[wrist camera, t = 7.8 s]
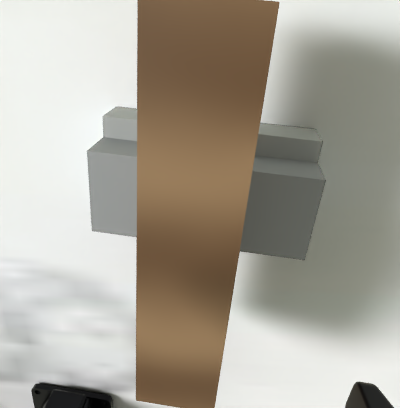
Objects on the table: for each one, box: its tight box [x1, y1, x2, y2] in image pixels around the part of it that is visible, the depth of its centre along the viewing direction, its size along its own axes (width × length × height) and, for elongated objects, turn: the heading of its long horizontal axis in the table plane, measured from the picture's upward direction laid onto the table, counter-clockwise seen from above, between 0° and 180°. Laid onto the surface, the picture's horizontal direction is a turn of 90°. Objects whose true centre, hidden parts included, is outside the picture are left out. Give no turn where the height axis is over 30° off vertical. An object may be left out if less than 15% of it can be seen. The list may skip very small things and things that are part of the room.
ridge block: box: [87, 107, 326, 260], centre depth 18 cm, size 6×10×4 cm, turn 85°
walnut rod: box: [136, 0, 279, 408], centre depth 15 cm, size 16×4×4 cm, turn 175°
